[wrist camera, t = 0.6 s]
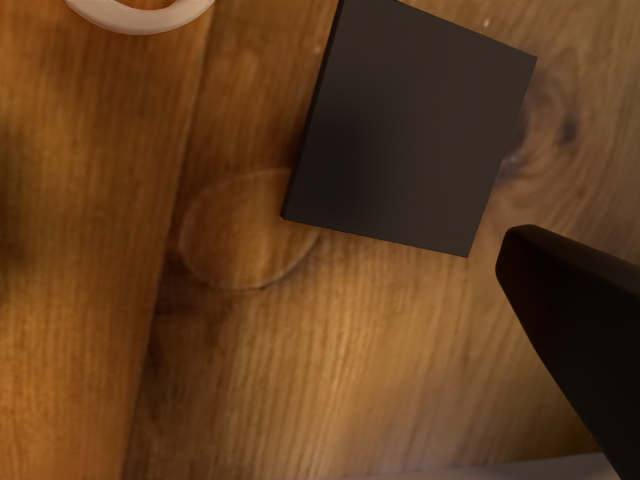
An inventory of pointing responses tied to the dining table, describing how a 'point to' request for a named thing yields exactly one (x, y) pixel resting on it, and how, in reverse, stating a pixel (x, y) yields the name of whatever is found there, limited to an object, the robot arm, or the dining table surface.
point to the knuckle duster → (138, 15)
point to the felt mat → (406, 127)
